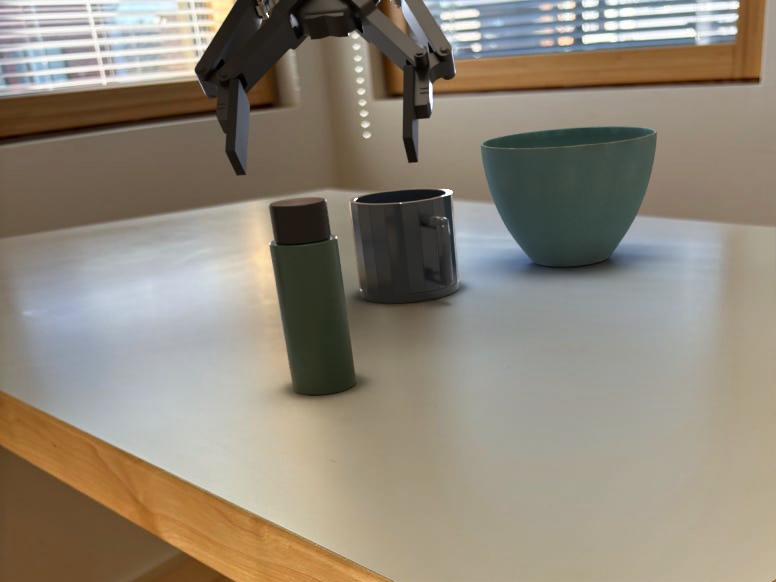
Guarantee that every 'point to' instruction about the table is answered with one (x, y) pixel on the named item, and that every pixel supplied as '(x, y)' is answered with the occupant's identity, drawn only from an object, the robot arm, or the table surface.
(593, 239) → the green bowl
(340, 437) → the table surface
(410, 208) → the mug
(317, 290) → the flask
